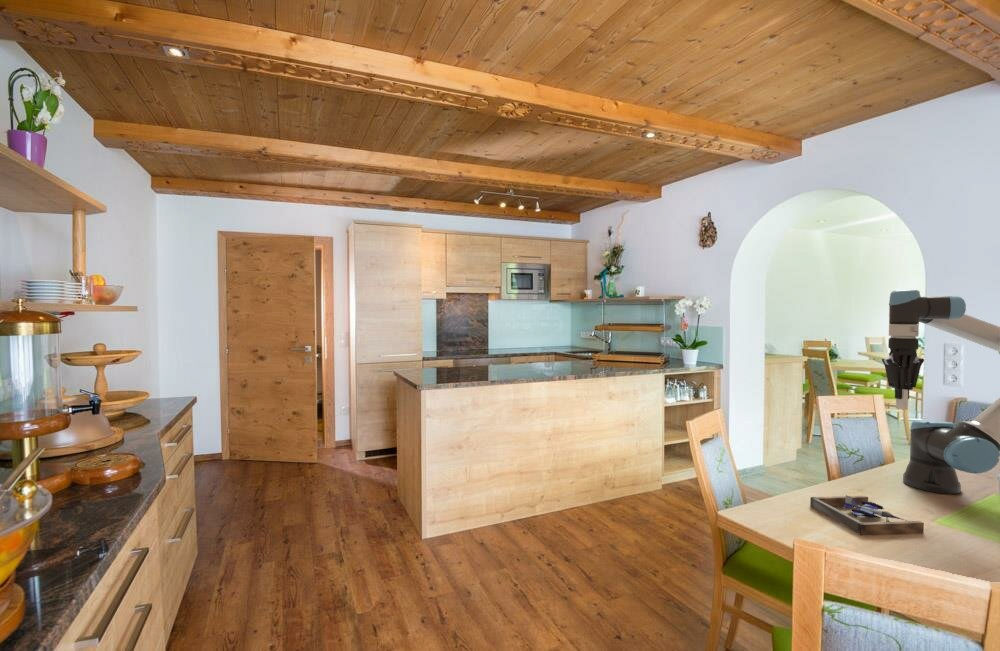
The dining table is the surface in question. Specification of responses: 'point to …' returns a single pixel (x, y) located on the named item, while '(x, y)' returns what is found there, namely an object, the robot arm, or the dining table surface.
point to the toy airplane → (867, 509)
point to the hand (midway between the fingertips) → (901, 408)
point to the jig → (872, 528)
